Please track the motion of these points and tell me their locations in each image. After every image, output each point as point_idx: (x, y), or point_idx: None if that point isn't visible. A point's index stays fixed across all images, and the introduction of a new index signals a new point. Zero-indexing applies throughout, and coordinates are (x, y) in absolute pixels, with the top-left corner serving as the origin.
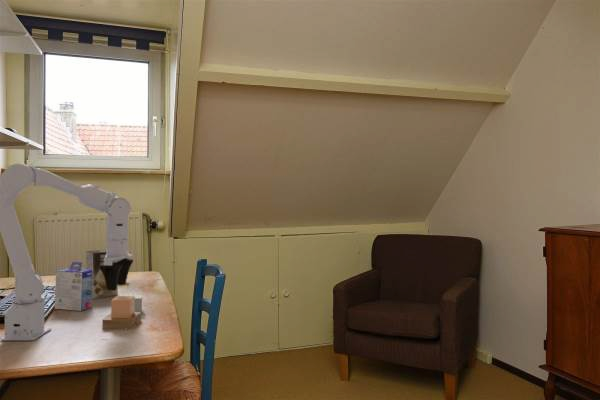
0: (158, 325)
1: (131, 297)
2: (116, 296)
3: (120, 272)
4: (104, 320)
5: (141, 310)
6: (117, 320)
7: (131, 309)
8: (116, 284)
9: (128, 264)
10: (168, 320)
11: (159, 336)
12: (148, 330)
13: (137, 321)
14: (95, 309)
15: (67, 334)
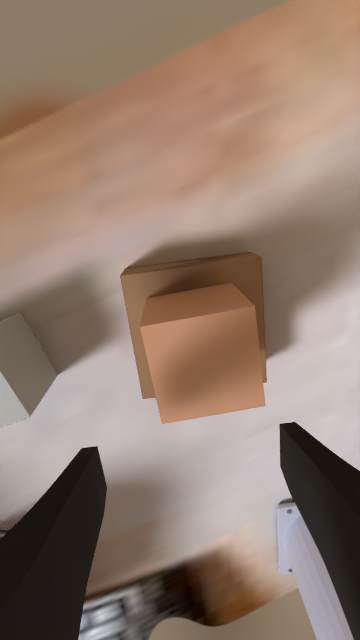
0: (183, 152)
1: (185, 328)
2: (172, 420)
3: (74, 565)
4: (265, 373)
5: (12, 317)
6: (262, 323)
7: (209, 295)
8: (313, 441)
9: (16, 608)
10: (90, 132)
11: (355, 74)
12: (265, 169)
13: (176, 263)
14: (7, 507)
15: (321, 438)
